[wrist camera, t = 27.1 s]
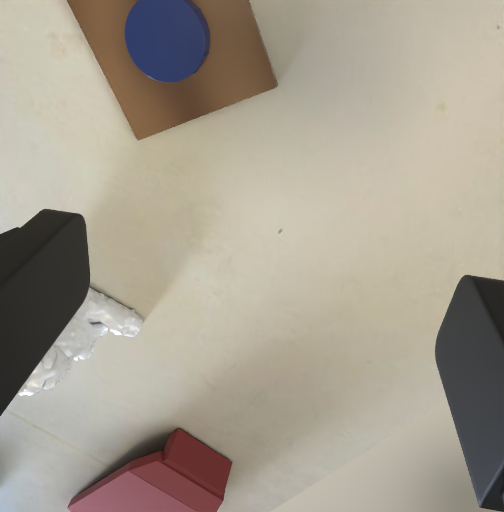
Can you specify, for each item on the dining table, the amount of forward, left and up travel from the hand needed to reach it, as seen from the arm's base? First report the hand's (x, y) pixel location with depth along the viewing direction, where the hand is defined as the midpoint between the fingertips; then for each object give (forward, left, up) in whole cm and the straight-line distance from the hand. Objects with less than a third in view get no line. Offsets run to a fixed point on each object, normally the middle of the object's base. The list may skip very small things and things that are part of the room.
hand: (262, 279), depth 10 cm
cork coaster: (+9, -4, -28) cm, 30 cm away
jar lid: (+9, -4, -26) cm, 28 cm away
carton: (+28, +48, -28) cm, 62 cm away
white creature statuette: (+25, +19, -28) cm, 42 cm away
